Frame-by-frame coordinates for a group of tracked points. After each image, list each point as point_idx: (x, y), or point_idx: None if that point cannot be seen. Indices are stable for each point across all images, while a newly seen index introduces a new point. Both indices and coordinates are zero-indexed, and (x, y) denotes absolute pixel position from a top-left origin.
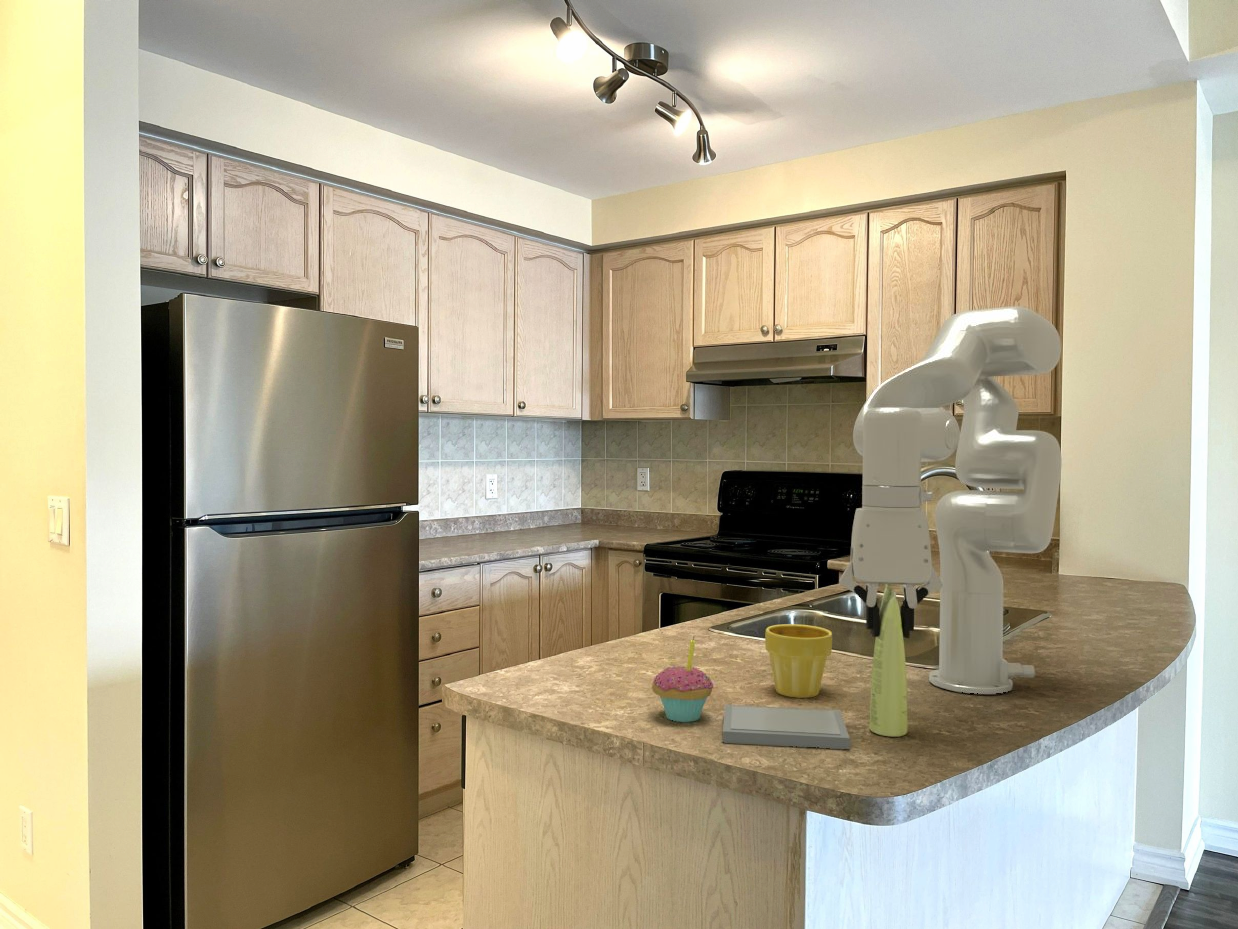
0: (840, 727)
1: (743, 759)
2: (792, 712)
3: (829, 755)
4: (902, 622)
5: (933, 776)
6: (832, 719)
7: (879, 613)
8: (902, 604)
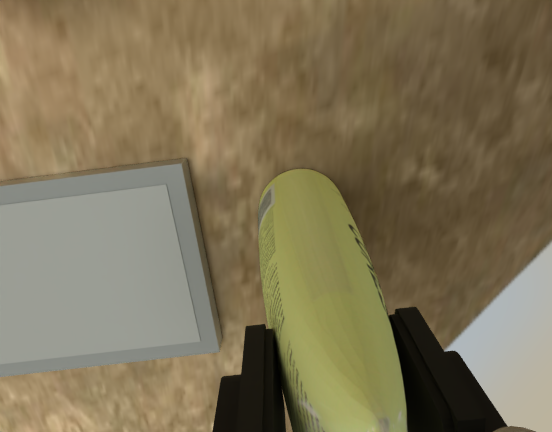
0: (195, 295)
1: (50, 423)
2: (70, 224)
3: (188, 370)
4: (410, 414)
5: None
6: (172, 250)
7: (293, 386)
8: (462, 422)
